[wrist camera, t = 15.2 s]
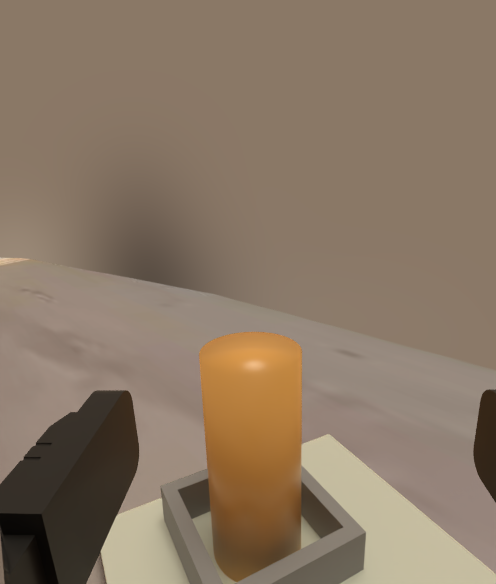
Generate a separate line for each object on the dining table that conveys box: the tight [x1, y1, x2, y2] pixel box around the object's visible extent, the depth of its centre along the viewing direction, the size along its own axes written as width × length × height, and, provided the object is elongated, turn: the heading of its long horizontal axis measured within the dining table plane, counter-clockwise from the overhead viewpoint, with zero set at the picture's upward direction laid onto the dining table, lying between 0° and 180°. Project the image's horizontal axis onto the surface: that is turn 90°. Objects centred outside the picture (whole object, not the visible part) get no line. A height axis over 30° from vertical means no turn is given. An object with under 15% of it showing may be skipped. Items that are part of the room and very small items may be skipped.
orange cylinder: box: [199, 332, 302, 582], centre depth 21 cm, size 5×5×12 cm
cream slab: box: [100, 434, 496, 584], centre depth 23 cm, size 18×14×4 cm
